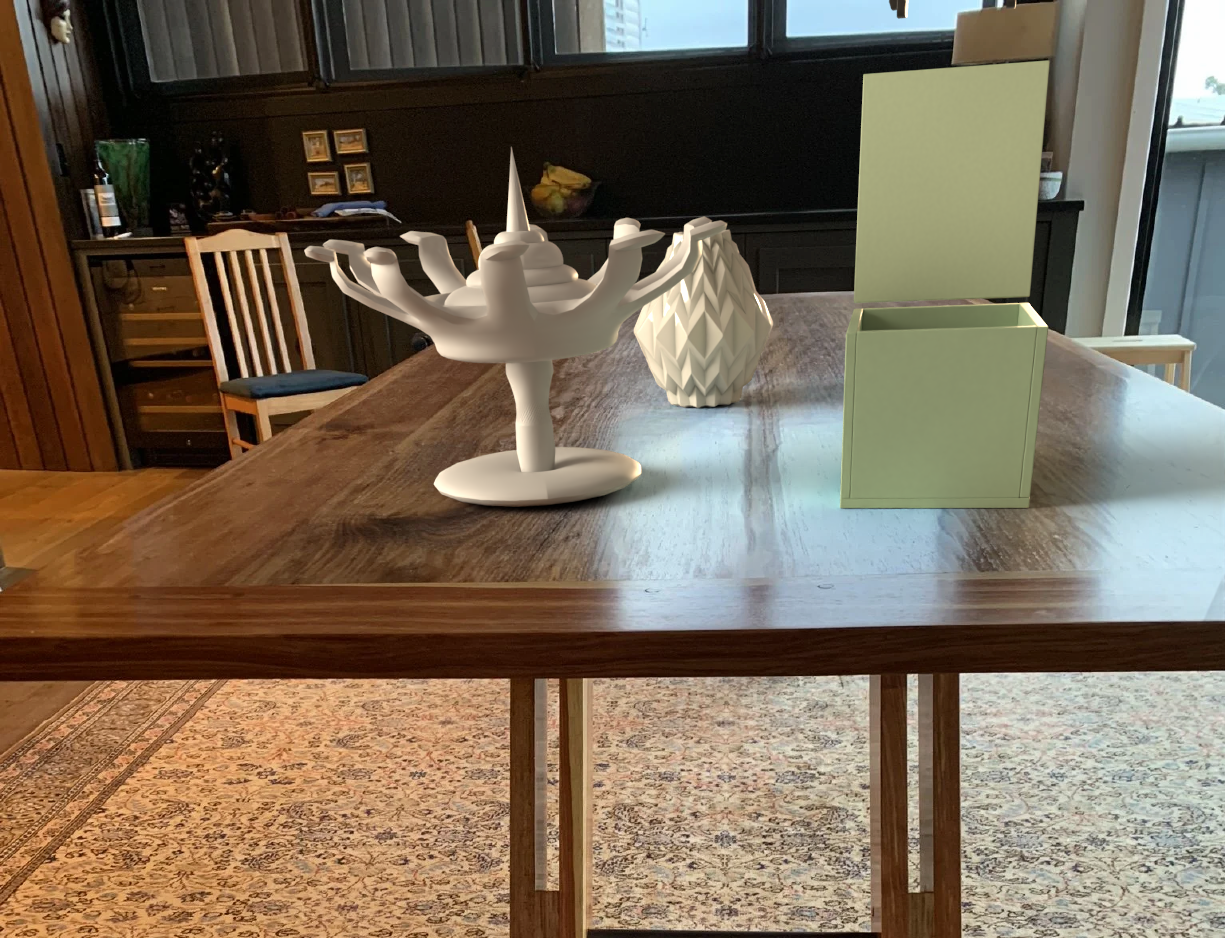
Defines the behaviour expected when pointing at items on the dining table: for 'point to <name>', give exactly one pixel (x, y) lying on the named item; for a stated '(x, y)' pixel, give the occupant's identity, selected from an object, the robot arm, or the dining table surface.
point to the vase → (706, 328)
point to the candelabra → (522, 337)
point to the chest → (941, 406)
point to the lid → (949, 182)
